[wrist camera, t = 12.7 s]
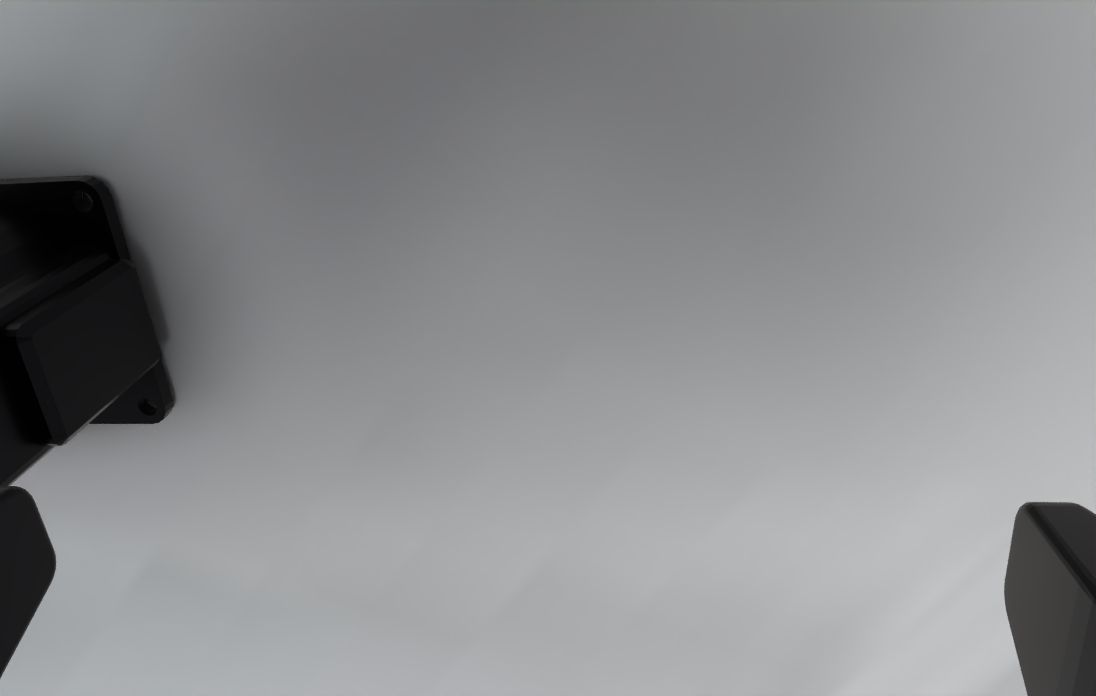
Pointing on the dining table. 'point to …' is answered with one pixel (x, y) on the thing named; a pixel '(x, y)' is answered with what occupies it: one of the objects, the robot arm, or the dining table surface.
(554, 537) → the dining table surface
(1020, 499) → the dining table surface
